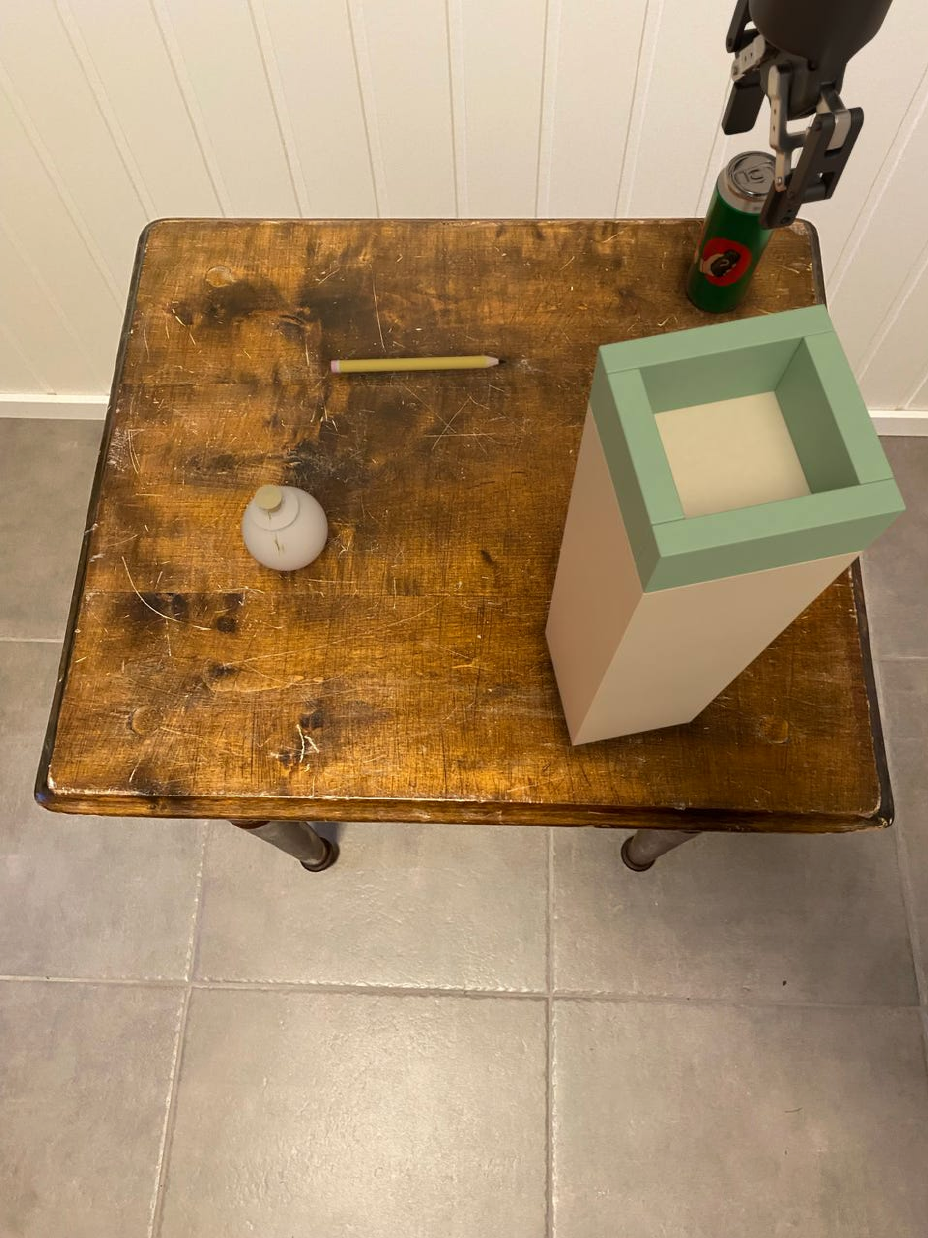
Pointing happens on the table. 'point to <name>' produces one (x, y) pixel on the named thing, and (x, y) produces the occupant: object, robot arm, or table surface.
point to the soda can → (732, 234)
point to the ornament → (284, 527)
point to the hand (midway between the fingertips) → (754, 175)
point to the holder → (707, 513)
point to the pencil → (414, 364)
